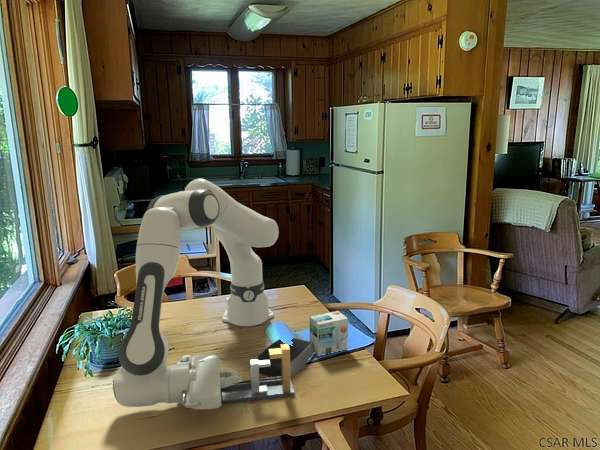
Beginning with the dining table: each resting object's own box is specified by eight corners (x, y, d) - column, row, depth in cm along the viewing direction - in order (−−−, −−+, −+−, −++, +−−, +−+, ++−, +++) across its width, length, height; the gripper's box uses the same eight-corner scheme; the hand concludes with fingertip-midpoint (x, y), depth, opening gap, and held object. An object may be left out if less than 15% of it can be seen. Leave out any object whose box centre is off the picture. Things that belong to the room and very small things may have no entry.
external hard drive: (319, 353, 141) (319, 341, 140) (287, 383, 124) (287, 370, 123) (283, 344, 147) (282, 332, 146) (248, 371, 130) (248, 359, 129)
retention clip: (251, 389, 118) (250, 359, 116) (270, 387, 119) (269, 357, 117) (251, 395, 116) (250, 364, 114) (271, 392, 117) (270, 362, 115)
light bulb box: (318, 357, 137) (318, 324, 135) (308, 347, 143) (308, 316, 141) (348, 350, 141) (349, 318, 139) (338, 341, 147) (338, 310, 145)
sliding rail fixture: (201, 391, 120) (198, 346, 117) (290, 381, 124) (289, 337, 121) (200, 407, 113) (197, 359, 110) (294, 396, 117) (294, 349, 115)
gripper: (179, 395, 102) (240, 388, 105) (184, 352, 122) (235, 347, 124) (181, 419, 103) (241, 412, 106) (185, 373, 123) (236, 368, 126)
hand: (238, 376), depth 115 cm, fingers closed
